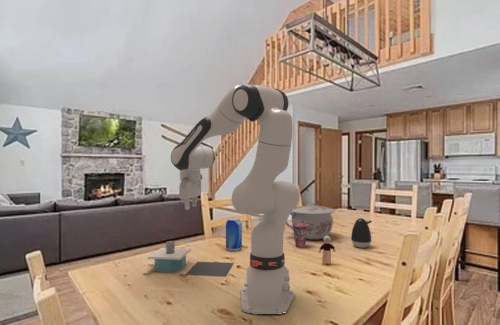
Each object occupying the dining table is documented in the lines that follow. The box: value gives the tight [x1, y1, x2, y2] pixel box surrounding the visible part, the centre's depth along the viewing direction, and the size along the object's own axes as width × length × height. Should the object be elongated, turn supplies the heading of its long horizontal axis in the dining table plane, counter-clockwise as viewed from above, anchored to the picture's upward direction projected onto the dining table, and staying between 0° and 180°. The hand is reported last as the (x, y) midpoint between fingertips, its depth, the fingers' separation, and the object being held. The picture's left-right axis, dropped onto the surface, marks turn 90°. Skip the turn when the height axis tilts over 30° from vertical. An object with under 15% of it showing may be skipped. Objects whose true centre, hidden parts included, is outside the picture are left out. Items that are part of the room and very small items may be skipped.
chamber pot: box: [285, 202, 336, 241], centre depth 191 cm, size 28×28×21 cm
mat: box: [184, 261, 235, 278], centre depth 135 cm, size 17×17×1 cm
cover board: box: [147, 240, 192, 260], centre depth 137 cm, size 14×14×5 cm
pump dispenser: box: [350, 218, 372, 249], centre depth 169 cm, size 10×10×15 cm
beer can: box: [225, 217, 243, 252], centre depth 166 cm, size 8×8×16 cm
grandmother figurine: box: [317, 235, 337, 266], centre depth 141 cm, size 8×4×13 cm, turn 105°
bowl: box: [154, 254, 187, 273], centre depth 137 cm, size 12×12×6 cm
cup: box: [291, 223, 310, 249], centre depth 170 cm, size 9×8×12 cm
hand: (190, 208), depth 139 cm, fingers open, 8 cm apart
